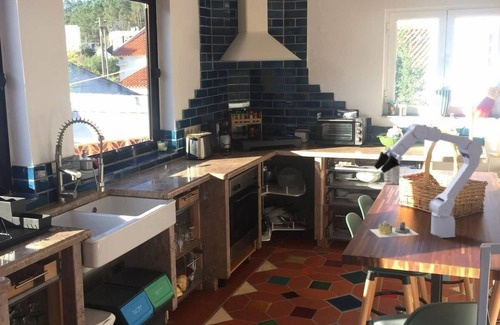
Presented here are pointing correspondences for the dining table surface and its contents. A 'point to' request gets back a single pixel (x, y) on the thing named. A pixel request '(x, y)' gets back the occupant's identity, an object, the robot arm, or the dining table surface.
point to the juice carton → (392, 174)
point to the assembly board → (396, 231)
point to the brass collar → (385, 229)
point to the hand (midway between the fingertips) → (379, 169)
